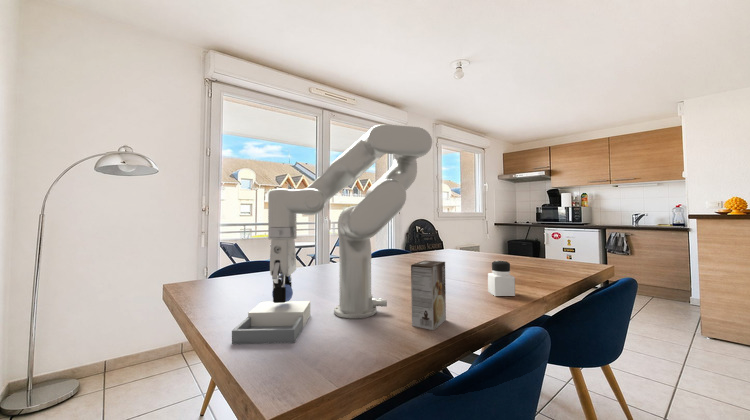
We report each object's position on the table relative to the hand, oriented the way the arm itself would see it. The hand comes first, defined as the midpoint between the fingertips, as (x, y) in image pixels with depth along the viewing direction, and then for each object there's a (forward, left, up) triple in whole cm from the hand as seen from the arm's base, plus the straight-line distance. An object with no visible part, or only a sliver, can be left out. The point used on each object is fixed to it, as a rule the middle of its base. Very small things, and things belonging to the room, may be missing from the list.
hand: (282, 298), depth 84 cm
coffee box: (-40, +4, -6) cm, 41 cm away
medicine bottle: (-72, -24, -6) cm, 76 cm away
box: (0, +11, -6) cm, 12 cm away
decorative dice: (0, 0, -1) cm, 1 cm away
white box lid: (0, +1, -6) cm, 6 cm away
